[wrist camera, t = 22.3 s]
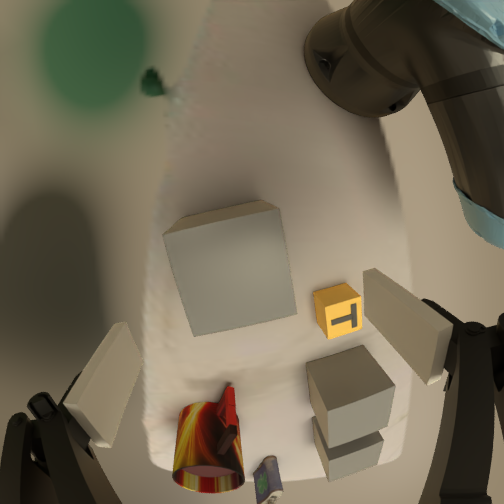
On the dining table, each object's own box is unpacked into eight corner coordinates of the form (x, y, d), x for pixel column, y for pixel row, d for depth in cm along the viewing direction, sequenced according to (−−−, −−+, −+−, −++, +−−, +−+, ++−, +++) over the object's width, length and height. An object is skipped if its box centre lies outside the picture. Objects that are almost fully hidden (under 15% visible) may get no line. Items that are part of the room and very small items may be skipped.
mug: (233, 380, 36) (238, 445, 24) (241, 435, 39) (247, 491, 28) (166, 382, 35) (153, 446, 24) (185, 437, 39) (181, 492, 27)
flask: (266, 454, 42) (275, 498, 31) (280, 455, 42) (290, 498, 32) (250, 475, 44) (256, 514, 33) (263, 475, 44) (270, 514, 34)
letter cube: (313, 291, 34) (325, 307, 29) (345, 282, 34) (361, 296, 29) (316, 322, 35) (328, 340, 30) (347, 312, 35) (362, 329, 31)
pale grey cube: (181, 217, 30) (162, 235, 20) (261, 199, 30) (279, 208, 21) (201, 292, 32) (193, 336, 22) (276, 275, 33) (297, 314, 23)
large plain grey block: (312, 417, 40) (328, 461, 30) (360, 401, 40) (383, 440, 30) (314, 443, 42) (328, 482, 32) (358, 428, 42) (377, 464, 33)
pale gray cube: (305, 362, 36) (327, 411, 27) (363, 344, 37) (395, 385, 27) (310, 402, 39) (328, 448, 29) (361, 386, 39) (387, 426, 29)
